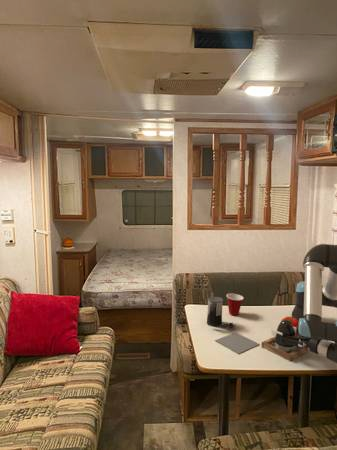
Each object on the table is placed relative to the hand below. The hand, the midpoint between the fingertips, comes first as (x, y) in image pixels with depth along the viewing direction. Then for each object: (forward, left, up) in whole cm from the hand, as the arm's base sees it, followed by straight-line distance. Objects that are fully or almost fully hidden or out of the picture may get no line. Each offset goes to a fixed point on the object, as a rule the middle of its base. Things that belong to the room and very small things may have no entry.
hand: (278, 328), depth 160 cm
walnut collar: (0, +4, -9) cm, 10 cm away
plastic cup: (-12, -40, -9) cm, 43 cm away
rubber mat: (+15, -14, -9) cm, 22 cm away
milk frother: (+7, -34, -9) cm, 36 cm away
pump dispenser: (0, +4, -9) cm, 10 cm away
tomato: (-17, -4, -9) cm, 20 cm away
